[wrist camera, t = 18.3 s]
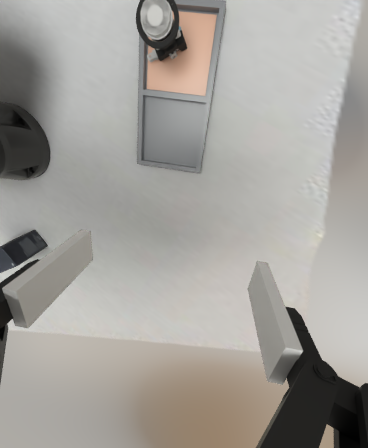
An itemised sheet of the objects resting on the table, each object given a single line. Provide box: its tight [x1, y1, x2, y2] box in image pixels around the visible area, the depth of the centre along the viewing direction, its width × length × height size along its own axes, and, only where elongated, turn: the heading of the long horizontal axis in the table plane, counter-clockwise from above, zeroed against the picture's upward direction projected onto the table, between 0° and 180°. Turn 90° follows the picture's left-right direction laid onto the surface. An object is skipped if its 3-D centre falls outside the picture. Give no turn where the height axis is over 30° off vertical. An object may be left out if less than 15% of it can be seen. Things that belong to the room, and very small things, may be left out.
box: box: [0, 230, 47, 273], centre depth 51 cm, size 9×6×10 cm, turn 115°
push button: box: [136, 0, 187, 62], centre depth 28 cm, size 7×5×10 cm
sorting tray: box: [137, 0, 226, 173], centre depth 35 cm, size 13×24×2 cm, turn 173°
